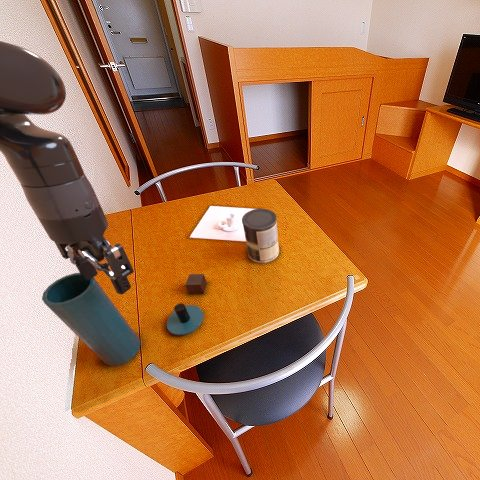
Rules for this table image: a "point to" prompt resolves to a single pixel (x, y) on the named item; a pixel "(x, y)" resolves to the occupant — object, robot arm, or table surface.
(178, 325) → the lid
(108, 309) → the tin
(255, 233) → the coffee can
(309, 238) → the table surface
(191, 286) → the block
